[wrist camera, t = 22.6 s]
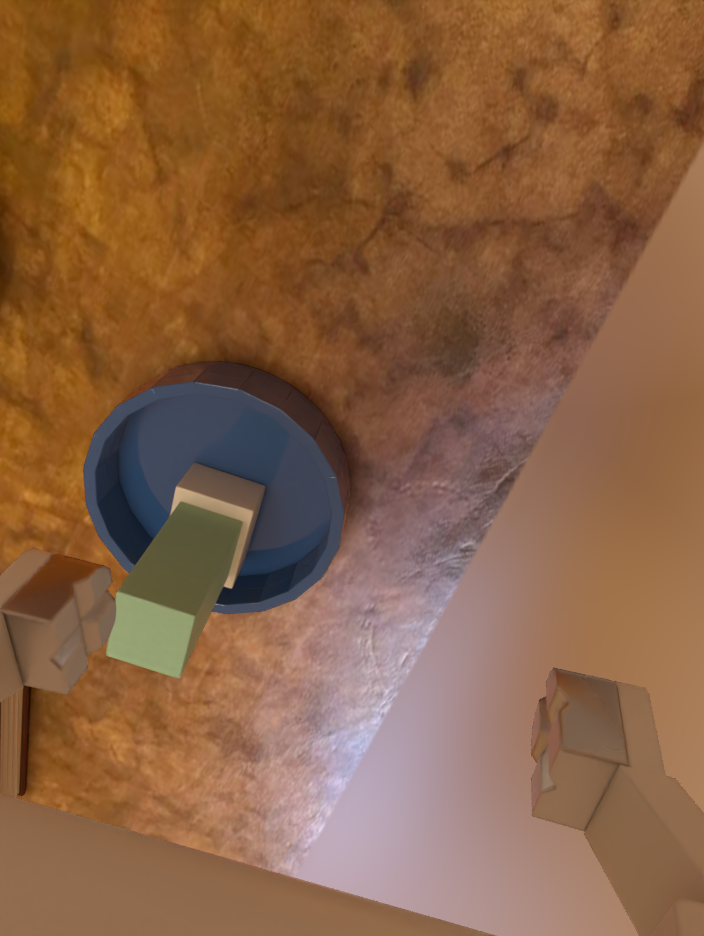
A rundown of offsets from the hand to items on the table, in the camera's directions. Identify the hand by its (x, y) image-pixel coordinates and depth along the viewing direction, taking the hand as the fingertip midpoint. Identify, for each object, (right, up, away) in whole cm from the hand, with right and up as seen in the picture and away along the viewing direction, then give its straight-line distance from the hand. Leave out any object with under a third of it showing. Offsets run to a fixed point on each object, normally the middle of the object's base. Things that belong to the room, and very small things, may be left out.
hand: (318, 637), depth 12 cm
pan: (-7, +2, +27) cm, 28 cm away
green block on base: (-7, 0, +27) cm, 28 cm away
